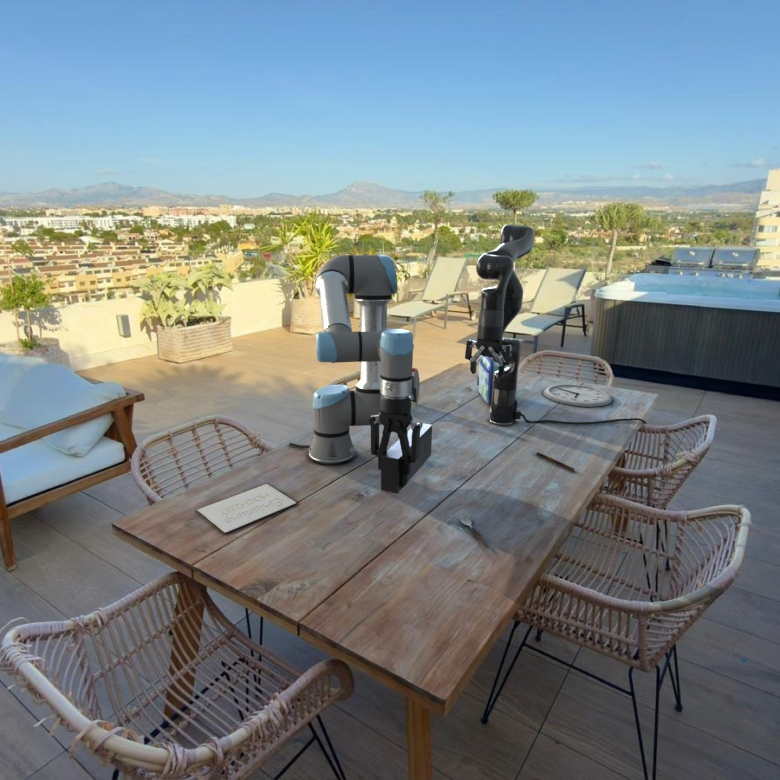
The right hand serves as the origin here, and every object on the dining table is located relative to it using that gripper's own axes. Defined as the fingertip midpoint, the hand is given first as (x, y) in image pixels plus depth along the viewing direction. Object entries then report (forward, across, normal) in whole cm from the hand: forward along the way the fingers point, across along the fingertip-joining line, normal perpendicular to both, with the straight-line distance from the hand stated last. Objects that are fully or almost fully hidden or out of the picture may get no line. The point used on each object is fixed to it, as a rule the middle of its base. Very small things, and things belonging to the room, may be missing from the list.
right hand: (486, 375), depth 162 cm
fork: (+30, +14, -40) cm, 51 cm away
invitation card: (+30, -43, -61) cm, 80 cm away
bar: (+19, -7, -38) cm, 43 cm away
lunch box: (+30, -20, +65) cm, 74 cm away
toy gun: (+30, -46, +34) cm, 65 cm away
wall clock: (+30, +12, +91) cm, 96 cm away
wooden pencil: (+30, +21, +12) cm, 38 cm away
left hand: (+18, -6, -47) cm, 51 cm away
